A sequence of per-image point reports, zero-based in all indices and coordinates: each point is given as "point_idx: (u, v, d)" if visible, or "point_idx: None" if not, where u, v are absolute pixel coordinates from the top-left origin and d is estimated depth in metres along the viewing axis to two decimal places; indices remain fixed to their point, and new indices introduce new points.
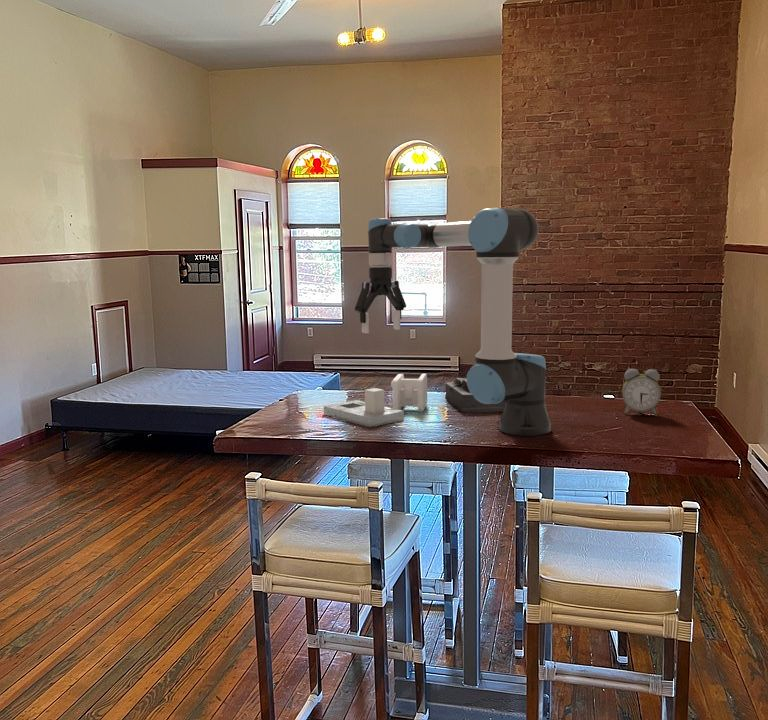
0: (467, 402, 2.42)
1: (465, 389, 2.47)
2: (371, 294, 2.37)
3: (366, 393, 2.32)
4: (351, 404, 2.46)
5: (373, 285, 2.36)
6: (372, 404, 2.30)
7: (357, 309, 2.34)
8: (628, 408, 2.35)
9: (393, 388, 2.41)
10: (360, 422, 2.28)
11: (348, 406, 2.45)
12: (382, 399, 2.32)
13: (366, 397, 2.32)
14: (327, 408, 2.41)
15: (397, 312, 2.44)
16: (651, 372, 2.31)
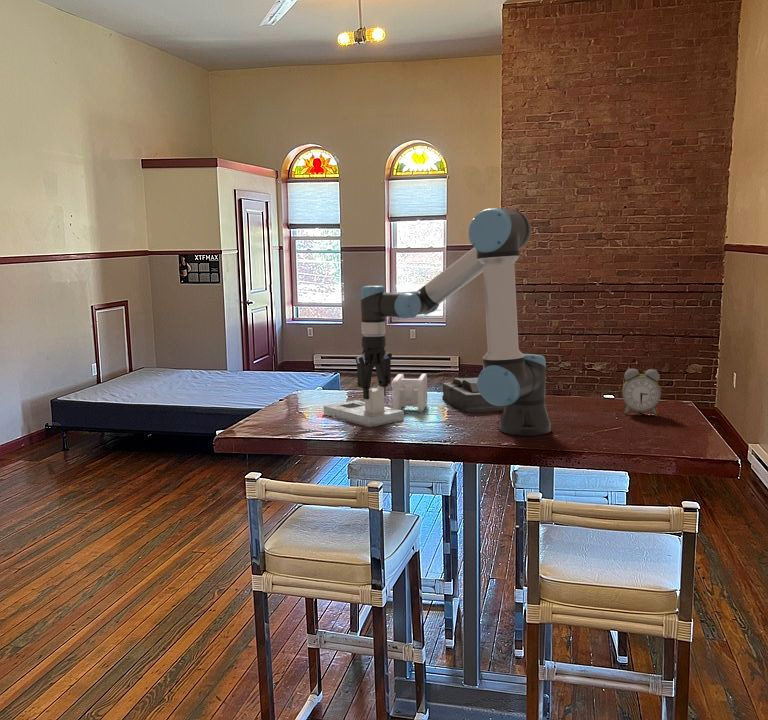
0: (471, 402, 2.42)
1: (467, 389, 2.47)
2: (367, 367, 2.29)
3: None
4: (351, 404, 2.46)
5: (366, 356, 2.27)
6: (372, 404, 2.30)
7: (360, 386, 2.28)
8: (628, 408, 2.35)
9: (393, 388, 2.41)
10: (360, 422, 2.28)
11: (348, 406, 2.45)
12: (382, 399, 2.32)
13: None
14: (327, 408, 2.41)
15: None
16: (651, 372, 2.31)
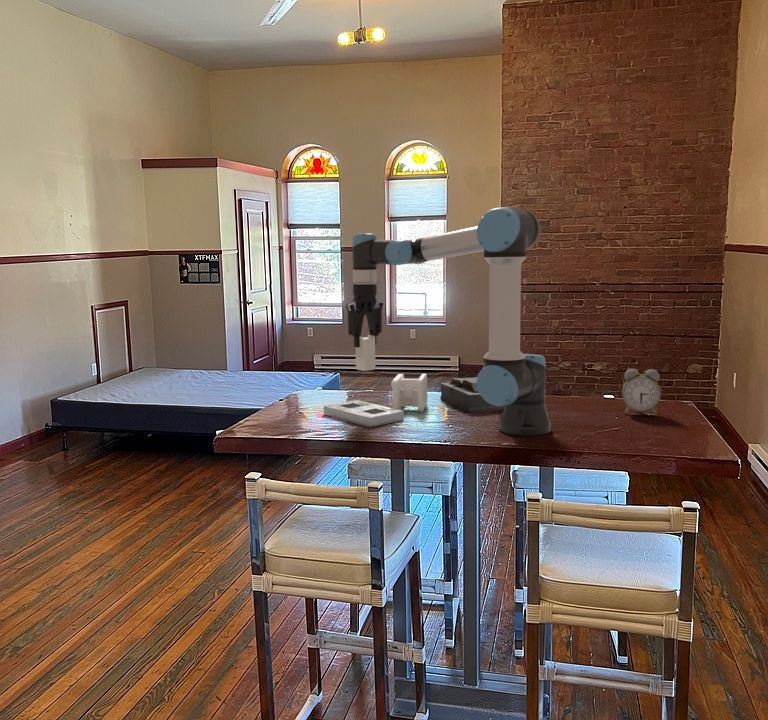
0: (473, 402, 2.42)
1: (469, 389, 2.47)
2: (358, 315, 2.29)
3: None
4: (351, 404, 2.46)
5: (357, 304, 2.28)
6: (363, 352, 2.31)
7: (351, 334, 2.28)
8: (628, 408, 2.35)
9: (393, 388, 2.41)
10: (360, 422, 2.28)
11: (348, 406, 2.45)
12: (373, 348, 2.32)
13: None
14: (327, 408, 2.41)
15: None
16: (651, 372, 2.31)
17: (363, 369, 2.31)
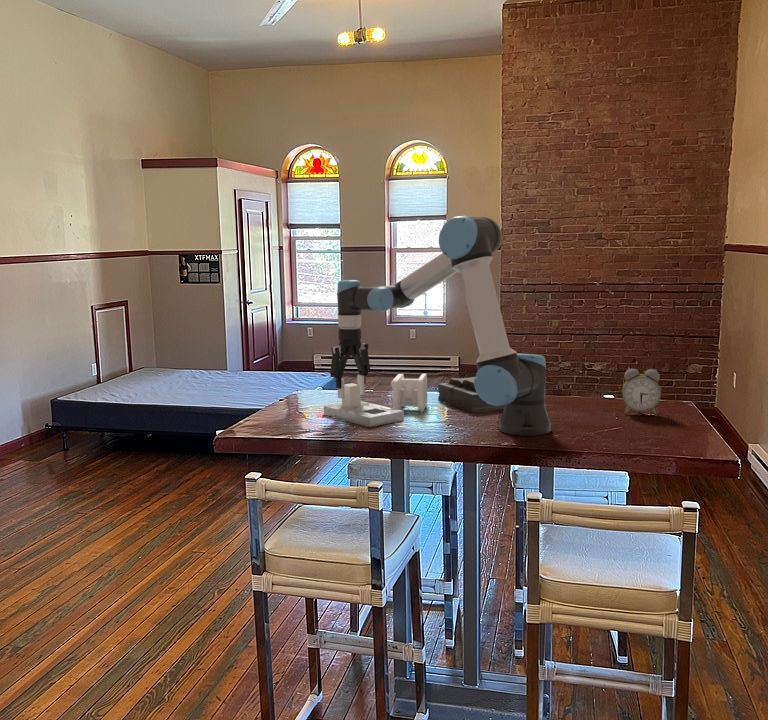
0: (477, 402, 2.42)
1: (470, 389, 2.47)
2: (342, 358, 2.37)
3: None
4: None
5: (342, 347, 2.36)
6: (348, 398, 2.39)
7: (333, 376, 2.36)
8: (628, 408, 2.35)
9: (393, 388, 2.41)
10: (360, 422, 2.28)
11: None
12: (358, 394, 2.41)
13: None
14: (327, 408, 2.41)
15: (361, 377, 2.43)
16: (652, 372, 2.31)
17: None
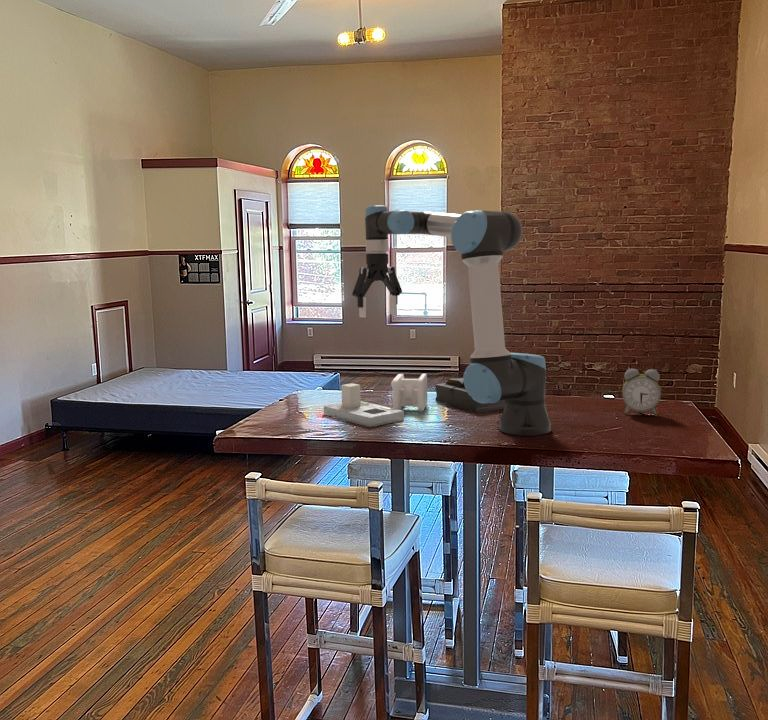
0: None
1: None
2: (368, 279, 2.44)
3: (343, 388, 2.41)
4: None
5: (370, 271, 2.43)
6: (348, 399, 2.39)
7: (355, 294, 2.40)
8: (628, 408, 2.35)
9: (393, 388, 2.41)
10: (360, 422, 2.28)
11: None
12: (358, 394, 2.41)
13: (343, 392, 2.41)
14: (327, 408, 2.41)
15: (393, 297, 2.51)
16: (652, 372, 2.31)
17: None
